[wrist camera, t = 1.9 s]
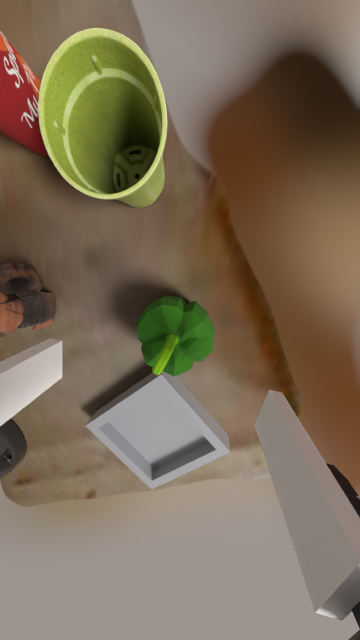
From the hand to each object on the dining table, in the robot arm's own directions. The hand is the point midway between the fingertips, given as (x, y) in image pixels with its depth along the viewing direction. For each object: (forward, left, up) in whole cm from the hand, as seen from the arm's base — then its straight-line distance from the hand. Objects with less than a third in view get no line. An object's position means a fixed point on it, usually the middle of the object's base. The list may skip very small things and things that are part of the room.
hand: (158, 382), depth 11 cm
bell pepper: (0, 0, -15) cm, 15 cm away
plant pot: (+7, +16, -15) cm, 23 cm away
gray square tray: (-14, -12, -15) cm, 24 cm away
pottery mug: (-15, +16, -15) cm, 27 cm away
